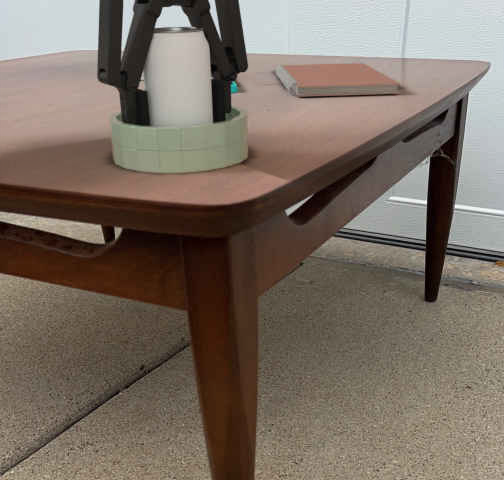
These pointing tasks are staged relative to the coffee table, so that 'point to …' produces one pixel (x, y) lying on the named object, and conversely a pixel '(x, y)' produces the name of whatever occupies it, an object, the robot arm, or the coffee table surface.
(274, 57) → the coffee table surface
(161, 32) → the can
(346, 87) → the notebook
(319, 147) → the coffee table surface
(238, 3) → the robot arm
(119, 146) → the bowl
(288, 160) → the coffee table surface
